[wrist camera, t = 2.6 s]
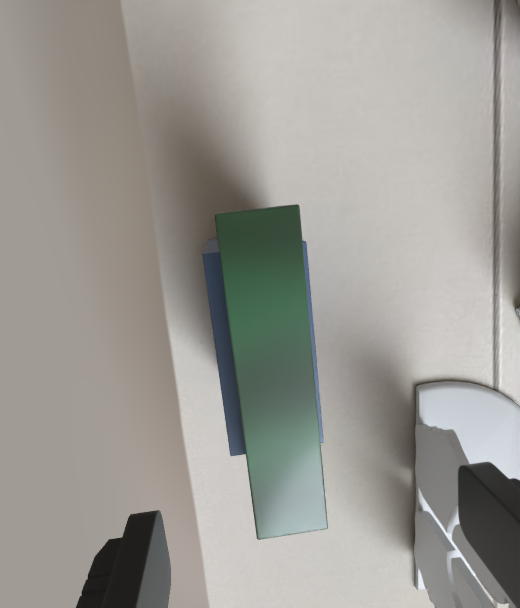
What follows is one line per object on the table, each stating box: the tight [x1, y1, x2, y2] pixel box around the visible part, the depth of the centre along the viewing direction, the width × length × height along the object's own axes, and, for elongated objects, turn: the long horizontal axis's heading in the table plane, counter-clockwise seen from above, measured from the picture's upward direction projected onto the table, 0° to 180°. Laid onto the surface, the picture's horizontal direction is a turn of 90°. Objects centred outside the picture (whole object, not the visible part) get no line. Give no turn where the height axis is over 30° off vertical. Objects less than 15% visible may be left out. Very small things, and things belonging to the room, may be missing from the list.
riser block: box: [202, 239, 324, 456], centre depth 30 cm, size 12×6×12 cm, turn 6°
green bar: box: [215, 205, 328, 540], centre depth 22 cm, size 16×4×5 cm, turn 6°
